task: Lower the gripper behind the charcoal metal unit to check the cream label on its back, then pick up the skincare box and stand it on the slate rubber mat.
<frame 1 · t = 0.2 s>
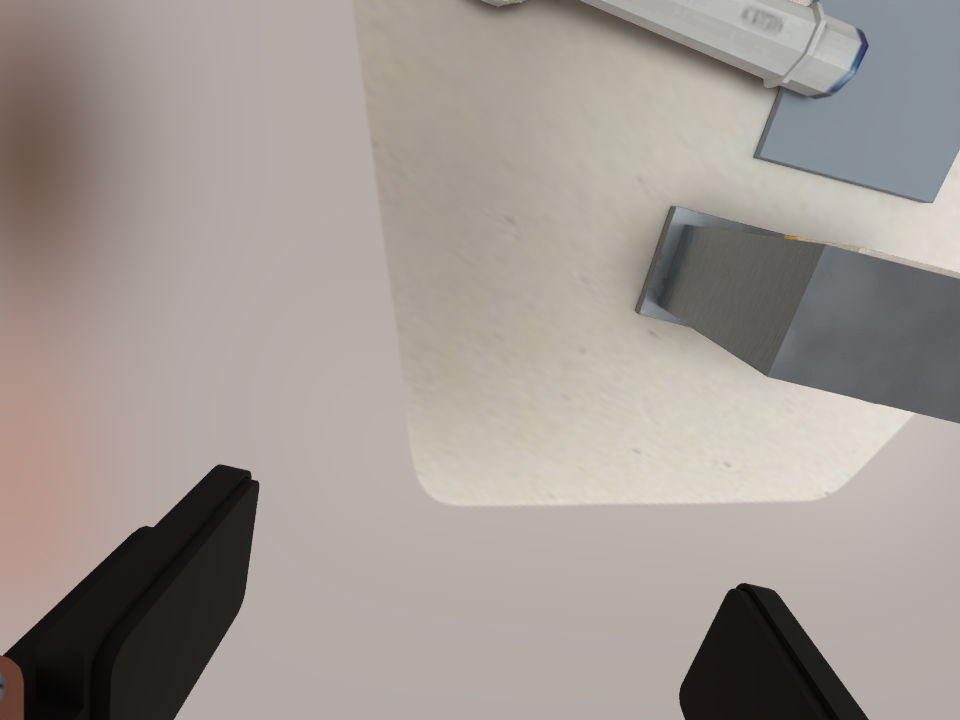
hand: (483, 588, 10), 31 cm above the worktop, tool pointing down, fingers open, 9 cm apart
mounted unit: (752, 285, 39), on the worktop
slate mat: (882, 81, 34), on the worktop
white elongated piece: (643, 15, 33), on the worktop, touching slate mat
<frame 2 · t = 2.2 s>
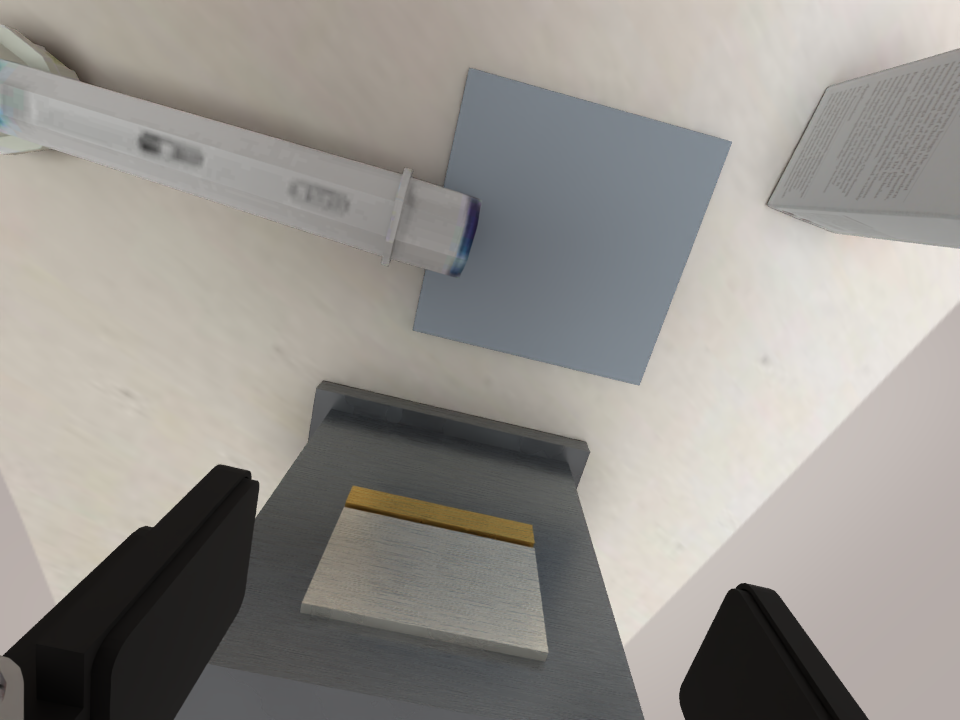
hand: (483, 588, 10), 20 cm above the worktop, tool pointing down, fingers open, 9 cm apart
skincare box: (829, 161, 26), on the worktop
mounted unit: (442, 469, 31), on the worktop
slate mat: (560, 240, 27), on the worktop
white elongated piece: (234, 158, 26), on the worktop, touching slate mat
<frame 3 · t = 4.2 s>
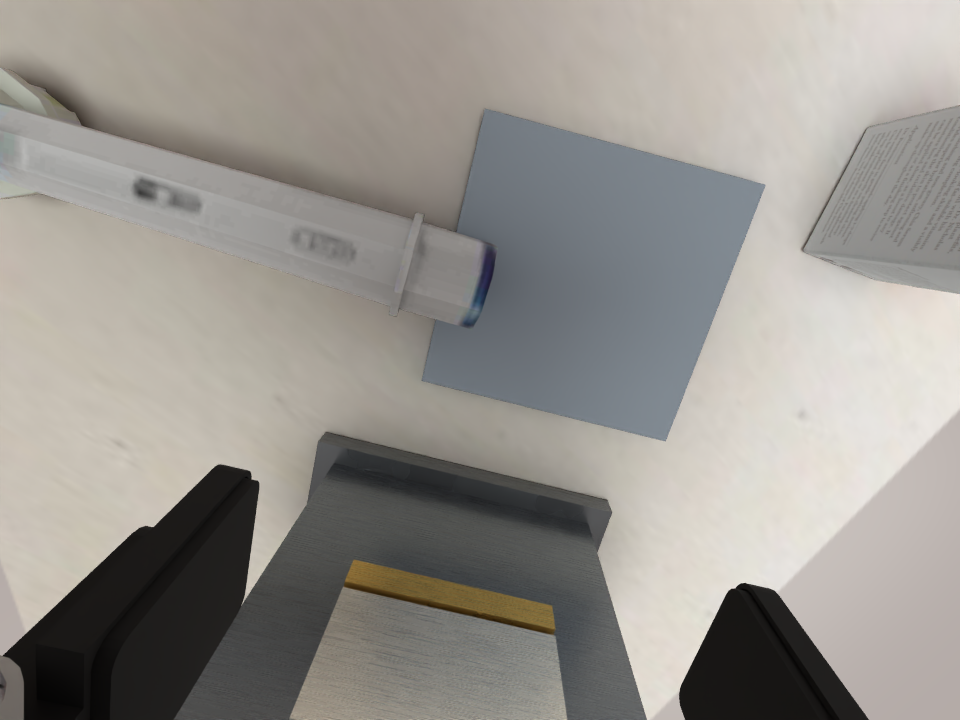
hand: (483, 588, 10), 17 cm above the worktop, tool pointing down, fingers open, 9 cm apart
skincare box: (869, 205, 24), on the worktop
mounted unit: (451, 527, 29), on the worktop
slate mat: (580, 286, 25), on the worktop
white elongated piece: (237, 201, 24), on the worktop, touching slate mat
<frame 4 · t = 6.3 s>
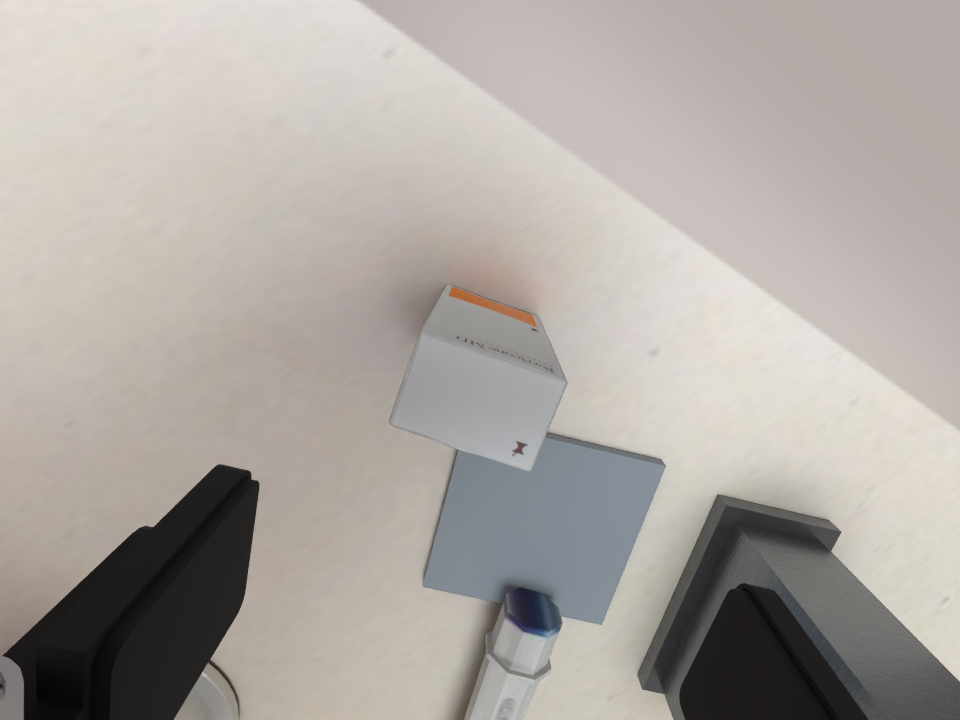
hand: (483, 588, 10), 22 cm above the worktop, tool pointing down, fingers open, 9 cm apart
skincare box: (481, 329, 31), on the worktop
mounted unit: (728, 602, 36), on the worktop
slate mat: (537, 521, 35), on the worktop
white elongated piece: (478, 707, 39), on the worktop, touching slate mat
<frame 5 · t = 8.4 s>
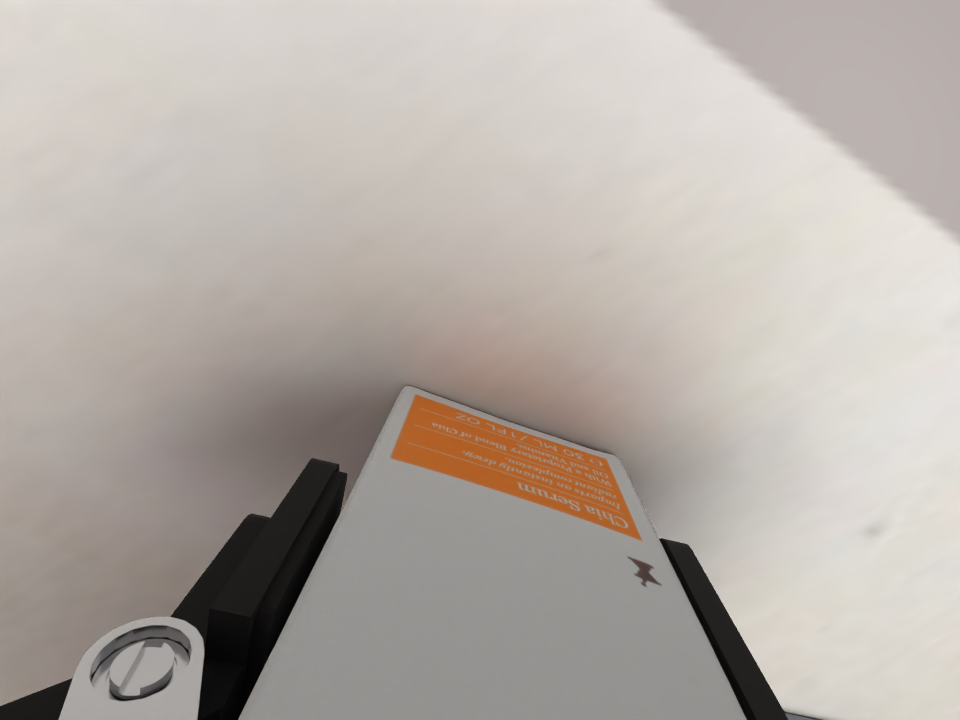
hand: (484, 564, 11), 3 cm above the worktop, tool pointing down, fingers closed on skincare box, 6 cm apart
skincare box: (484, 478, 14), on the worktop, touching gripper
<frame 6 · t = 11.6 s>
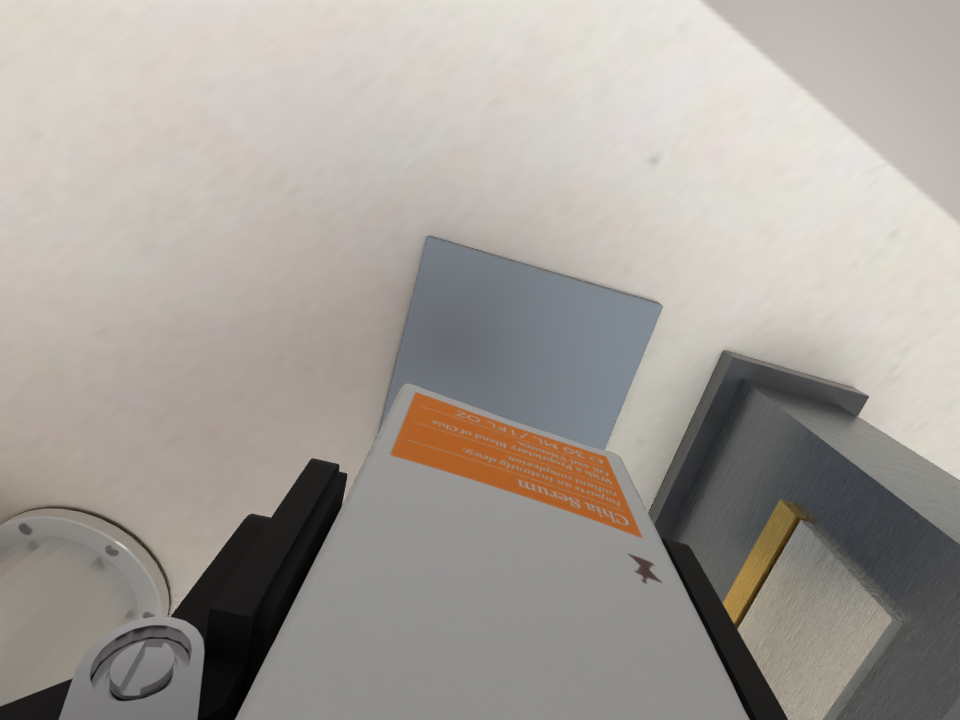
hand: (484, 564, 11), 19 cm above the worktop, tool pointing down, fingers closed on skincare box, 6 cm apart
skincare box: (484, 476, 14), point 16 cm above the worktop, touching gripper
mounted unit: (729, 487, 31), on the worktop
slate mat: (510, 377, 30), on the worktop
when the fingers open (5 cm above the worktop, at t = 15.1 s): skincare box moves 1 cm, resting on slate mat.
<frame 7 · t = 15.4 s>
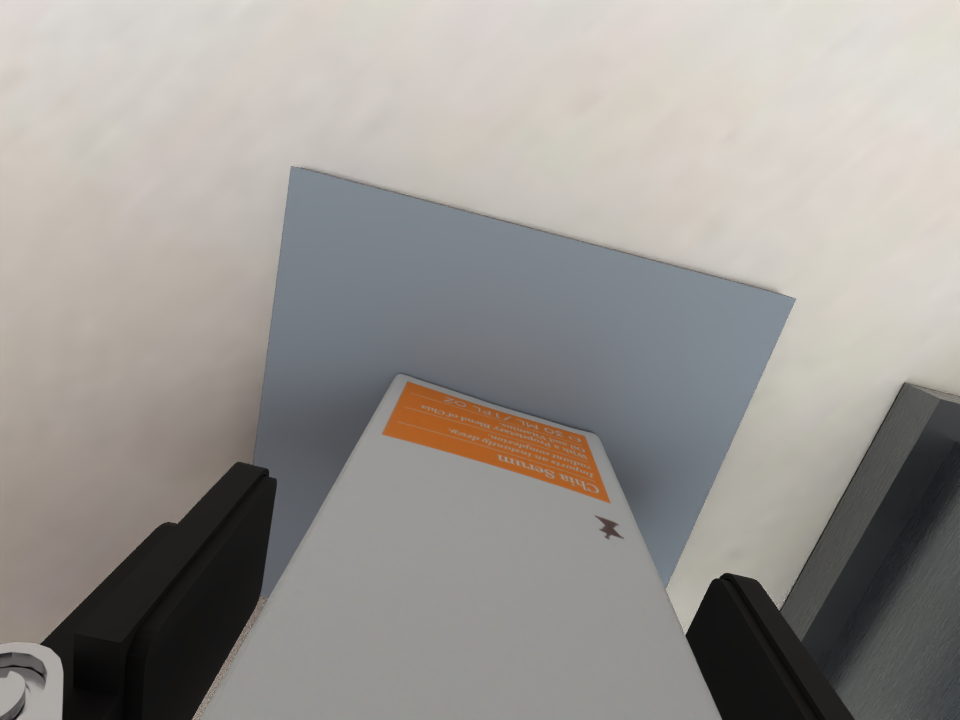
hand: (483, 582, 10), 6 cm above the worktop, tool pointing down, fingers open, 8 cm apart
skincare box: (474, 458, 15), point 1 cm above the worktop, touching slate mat
mounted unit: (896, 627, 17), on the worktop
slate mat: (486, 447, 15), on the worktop
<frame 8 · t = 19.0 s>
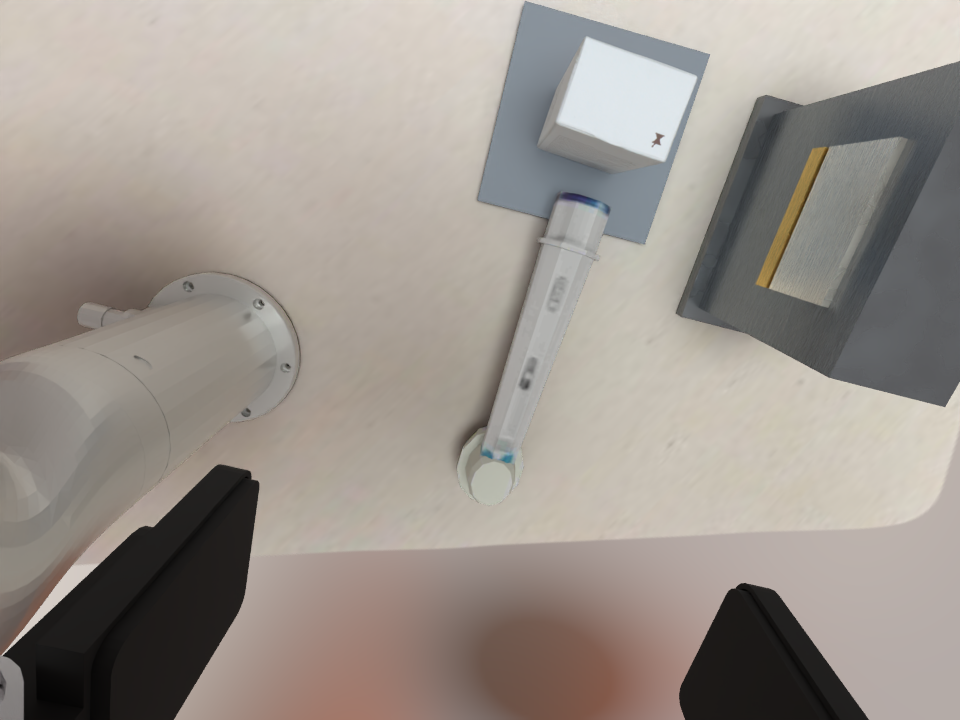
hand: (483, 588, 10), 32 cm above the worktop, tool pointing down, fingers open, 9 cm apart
skincare box: (583, 131, 36), point 1 cm above the worktop, touching slate mat
mounted unit: (763, 225, 39), on the worktop
slate mat: (586, 131, 37), on the worktop
white elongated piece: (525, 350, 42), on the worktop, touching slate mat
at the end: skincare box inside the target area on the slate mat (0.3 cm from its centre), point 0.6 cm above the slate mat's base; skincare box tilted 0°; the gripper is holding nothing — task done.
